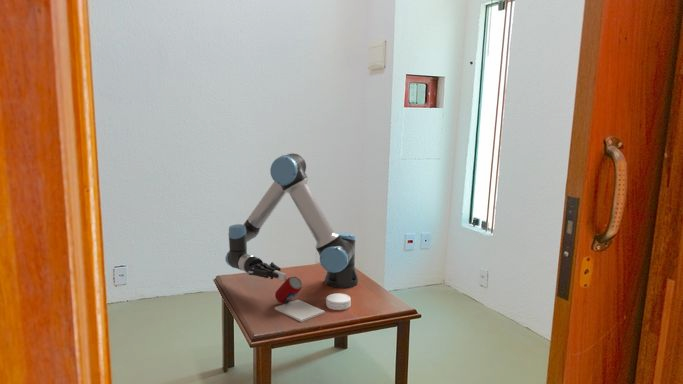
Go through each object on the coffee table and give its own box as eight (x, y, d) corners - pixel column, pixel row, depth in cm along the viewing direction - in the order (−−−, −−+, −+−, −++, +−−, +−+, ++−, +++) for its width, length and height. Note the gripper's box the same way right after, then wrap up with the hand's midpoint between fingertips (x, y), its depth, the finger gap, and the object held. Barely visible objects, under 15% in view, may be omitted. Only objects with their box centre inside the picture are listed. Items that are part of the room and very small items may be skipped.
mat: (274, 309, 191) (274, 307, 191) (298, 301, 200) (298, 299, 200) (301, 322, 180) (301, 320, 180) (324, 313, 189) (324, 311, 188)
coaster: (355, 308, 195) (355, 299, 194) (332, 312, 190) (333, 304, 189) (343, 299, 203) (343, 291, 203) (321, 303, 199) (321, 295, 198)
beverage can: (285, 308, 195) (299, 293, 188) (271, 298, 194) (285, 283, 187) (291, 296, 200) (305, 281, 193) (278, 287, 200) (291, 271, 193)
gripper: (263, 269, 215) (297, 282, 198) (238, 276, 206) (272, 290, 189) (263, 253, 213) (297, 264, 197) (237, 259, 204) (271, 272, 188)
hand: (285, 277), depth 193 cm, fingers closed
